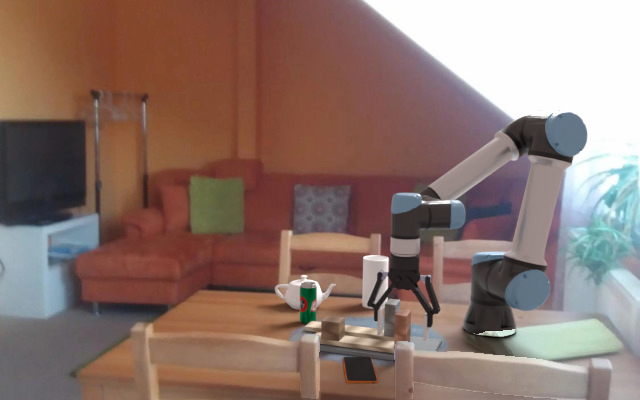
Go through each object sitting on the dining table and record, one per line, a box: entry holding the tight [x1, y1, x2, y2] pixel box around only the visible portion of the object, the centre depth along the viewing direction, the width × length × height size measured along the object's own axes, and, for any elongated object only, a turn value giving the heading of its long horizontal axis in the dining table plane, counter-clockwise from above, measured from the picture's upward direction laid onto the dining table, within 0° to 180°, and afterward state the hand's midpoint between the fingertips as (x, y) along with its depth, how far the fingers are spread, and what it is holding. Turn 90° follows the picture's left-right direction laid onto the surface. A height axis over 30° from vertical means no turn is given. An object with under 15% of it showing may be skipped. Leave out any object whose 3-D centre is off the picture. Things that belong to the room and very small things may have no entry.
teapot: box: [274, 274, 337, 311], centre depth 222 cm, size 20×12×10 cm, turn 84°
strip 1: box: [304, 298, 401, 341], centre depth 191 cm, size 26×6×10 cm, turn 70°
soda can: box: [299, 281, 318, 325], centre depth 205 cm, size 5×5×12 cm
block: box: [320, 315, 346, 341], centre depth 184 cm, size 5×5×5 cm
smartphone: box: [342, 356, 379, 384], centre depth 167 cm, size 8×17×1 cm, turn 1°
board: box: [288, 326, 443, 361], centre depth 186 cm, size 39×18×1 cm, turn 70°
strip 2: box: [316, 308, 412, 353], centre depth 181 cm, size 26×6×10 cm, turn 70°
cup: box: [361, 254, 389, 310], centre depth 223 cm, size 8×8×16 cm
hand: (402, 336), depth 177 cm, fingers open, 11 cm apart
